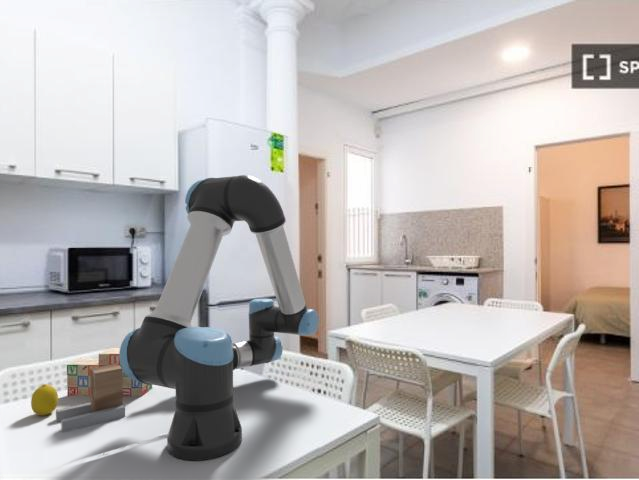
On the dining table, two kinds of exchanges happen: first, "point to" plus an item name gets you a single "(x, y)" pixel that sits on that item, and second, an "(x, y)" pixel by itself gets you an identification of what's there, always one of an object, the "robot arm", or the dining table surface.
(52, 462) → the dining table surface
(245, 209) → the robot arm
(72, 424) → the chute
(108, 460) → the dining table surface
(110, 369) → the block
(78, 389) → the stack of blocks
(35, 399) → the lemon
